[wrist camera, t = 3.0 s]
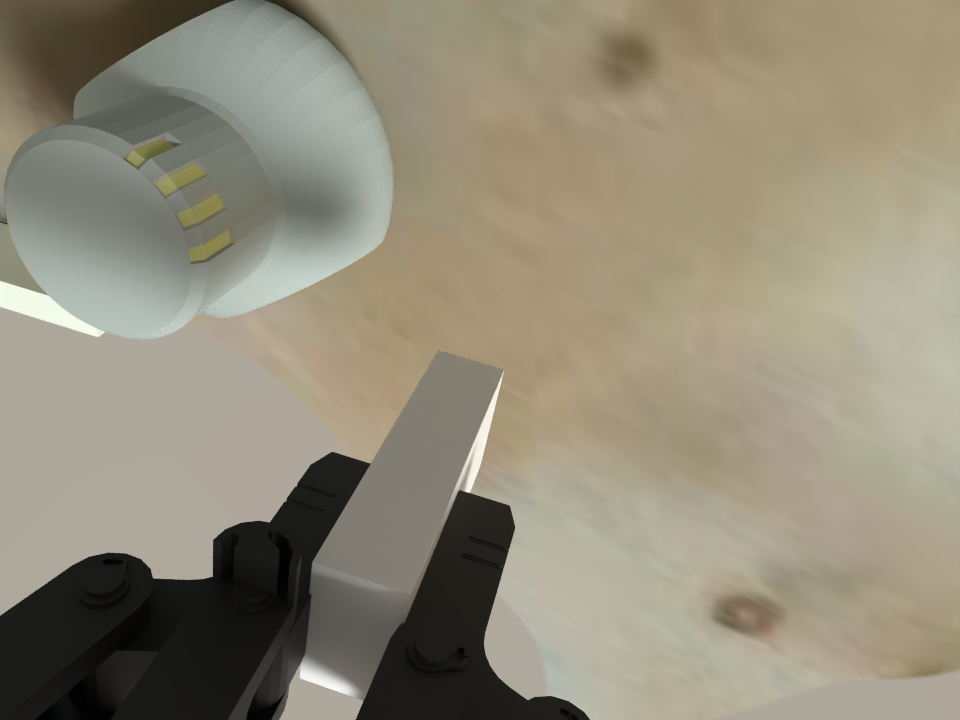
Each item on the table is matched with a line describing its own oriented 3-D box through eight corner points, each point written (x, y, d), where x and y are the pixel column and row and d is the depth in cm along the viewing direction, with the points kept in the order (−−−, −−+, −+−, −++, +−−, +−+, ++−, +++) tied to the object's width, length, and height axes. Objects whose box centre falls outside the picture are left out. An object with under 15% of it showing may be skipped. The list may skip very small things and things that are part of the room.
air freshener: (228, 291, 32) (60, 424, 23) (109, 103, 29) (-135, 176, 20) (453, 195, 27) (346, 316, 19) (339, -39, 24) (151, -21, 16)
